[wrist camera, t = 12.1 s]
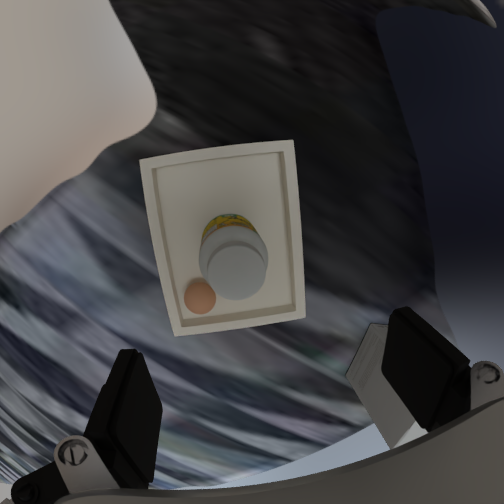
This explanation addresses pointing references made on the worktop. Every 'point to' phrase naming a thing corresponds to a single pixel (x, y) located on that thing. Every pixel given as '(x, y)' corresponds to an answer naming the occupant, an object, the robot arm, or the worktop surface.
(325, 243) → the worktop surface
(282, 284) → the tray
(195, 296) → the ball
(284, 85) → the worktop surface
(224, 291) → the supplement bottle
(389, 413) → the supplement box
